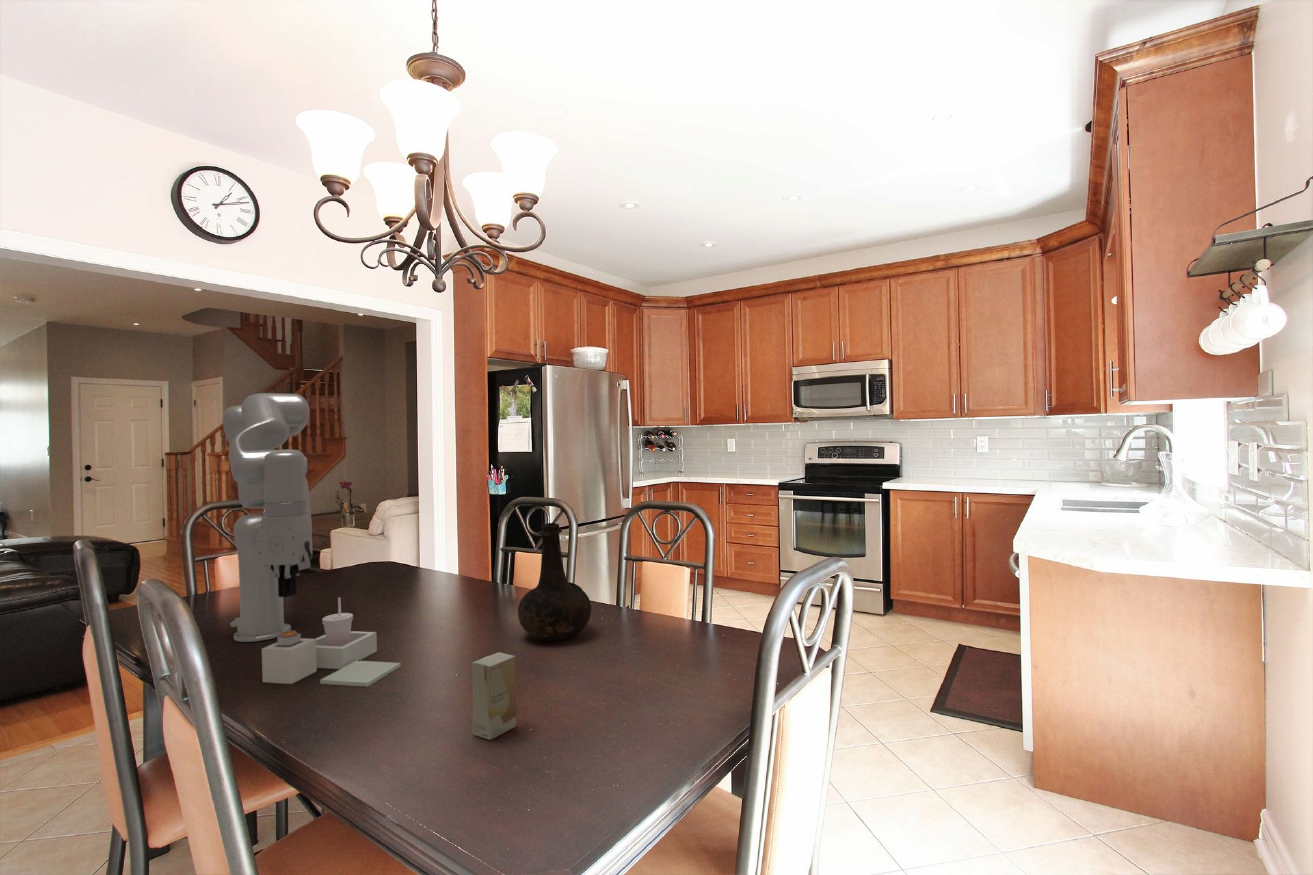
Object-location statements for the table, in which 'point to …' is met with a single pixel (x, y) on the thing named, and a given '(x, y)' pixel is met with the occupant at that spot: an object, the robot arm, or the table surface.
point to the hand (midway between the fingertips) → (287, 595)
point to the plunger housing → (289, 662)
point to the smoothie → (338, 627)
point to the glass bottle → (553, 596)
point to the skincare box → (494, 695)
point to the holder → (345, 650)
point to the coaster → (360, 673)
